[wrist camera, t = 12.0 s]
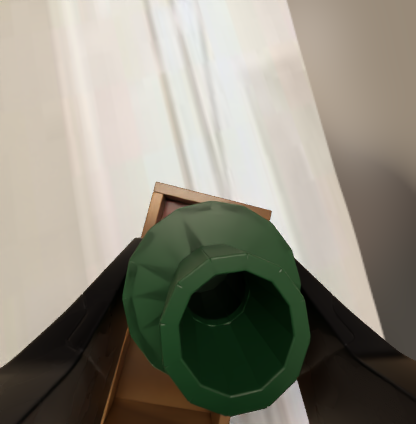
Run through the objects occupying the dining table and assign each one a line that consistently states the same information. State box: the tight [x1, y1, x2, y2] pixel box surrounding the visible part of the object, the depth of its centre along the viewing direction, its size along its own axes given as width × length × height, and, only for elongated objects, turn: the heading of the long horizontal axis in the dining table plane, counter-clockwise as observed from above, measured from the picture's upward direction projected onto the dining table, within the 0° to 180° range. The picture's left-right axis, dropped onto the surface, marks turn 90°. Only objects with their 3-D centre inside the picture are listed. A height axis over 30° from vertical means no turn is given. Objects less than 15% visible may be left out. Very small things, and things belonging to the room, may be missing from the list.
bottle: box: [122, 201, 311, 417], centre depth 11 cm, size 6×6×13 cm
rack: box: [101, 182, 272, 424], centre depth 16 cm, size 18×9×3 cm, turn 167°
